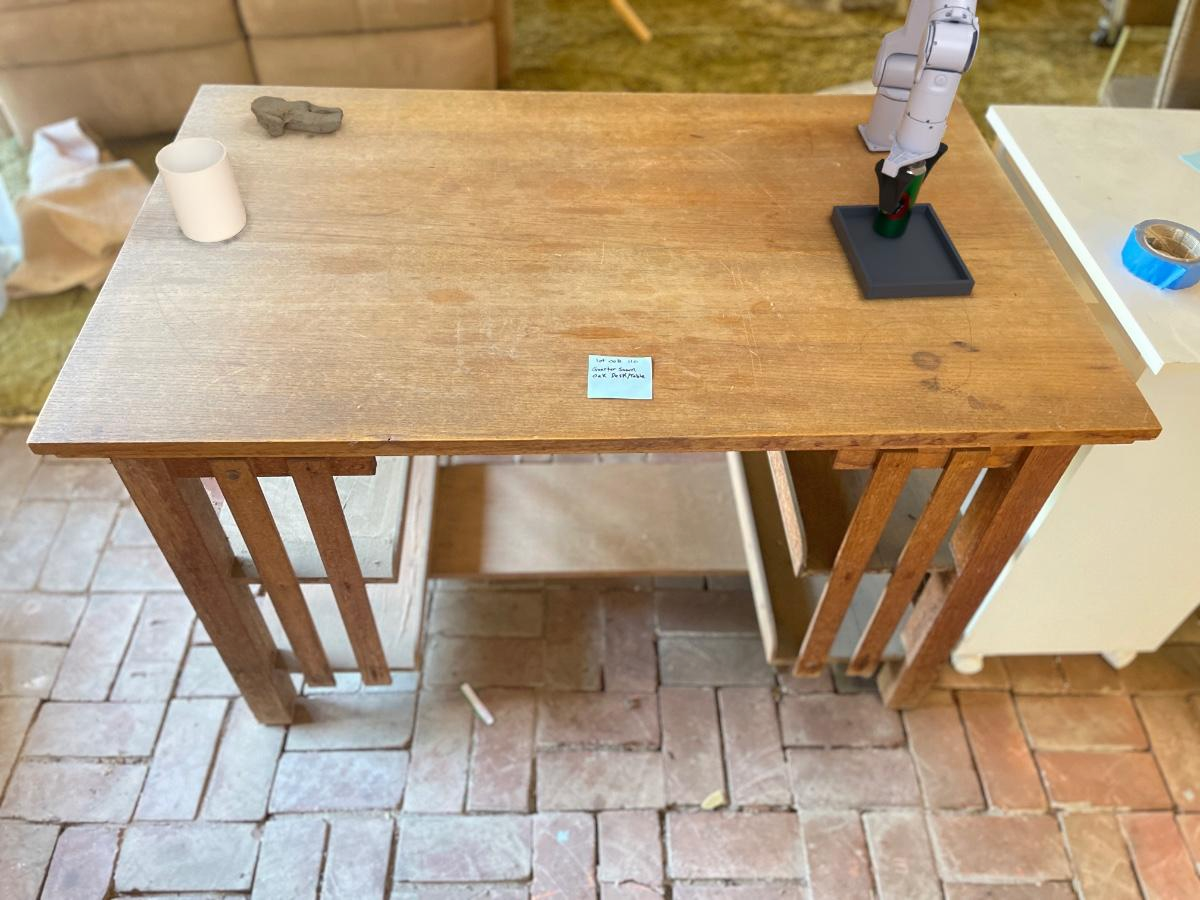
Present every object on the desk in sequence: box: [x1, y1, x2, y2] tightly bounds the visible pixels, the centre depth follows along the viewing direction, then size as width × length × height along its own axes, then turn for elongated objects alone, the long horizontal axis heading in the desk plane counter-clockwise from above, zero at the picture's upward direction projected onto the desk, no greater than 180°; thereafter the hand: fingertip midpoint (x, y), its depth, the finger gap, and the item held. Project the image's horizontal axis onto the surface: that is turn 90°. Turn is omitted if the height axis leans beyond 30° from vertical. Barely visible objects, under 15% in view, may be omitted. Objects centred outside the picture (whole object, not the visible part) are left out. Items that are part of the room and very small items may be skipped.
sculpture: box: [250, 95, 344, 137], centre depth 154 cm, size 7×5×15 cm
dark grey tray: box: [830, 202, 976, 300], centre depth 136 cm, size 15×19×2 cm
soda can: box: [873, 159, 926, 238], centre depth 135 cm, size 5×5×12 cm
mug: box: [154, 136, 247, 244], centre depth 133 cm, size 10×12×12 cm
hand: (898, 198), depth 135 cm, fingers open, 7 cm apart
